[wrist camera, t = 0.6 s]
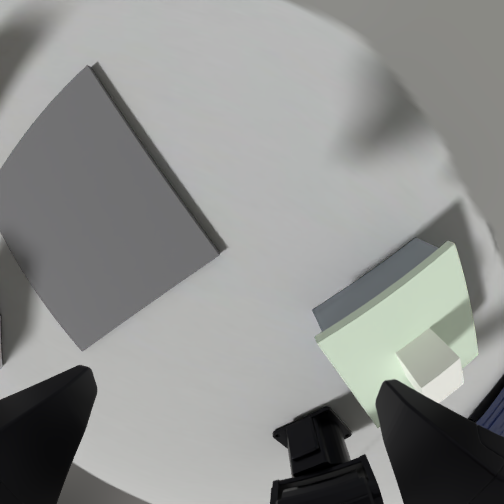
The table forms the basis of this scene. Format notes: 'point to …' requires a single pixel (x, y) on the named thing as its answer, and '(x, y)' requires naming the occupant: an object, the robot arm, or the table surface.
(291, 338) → the table surface
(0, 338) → the ink cartridge box
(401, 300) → the lid
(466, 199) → the table surface
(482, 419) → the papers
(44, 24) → the table surface
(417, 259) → the storage box
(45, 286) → the rubber mat
